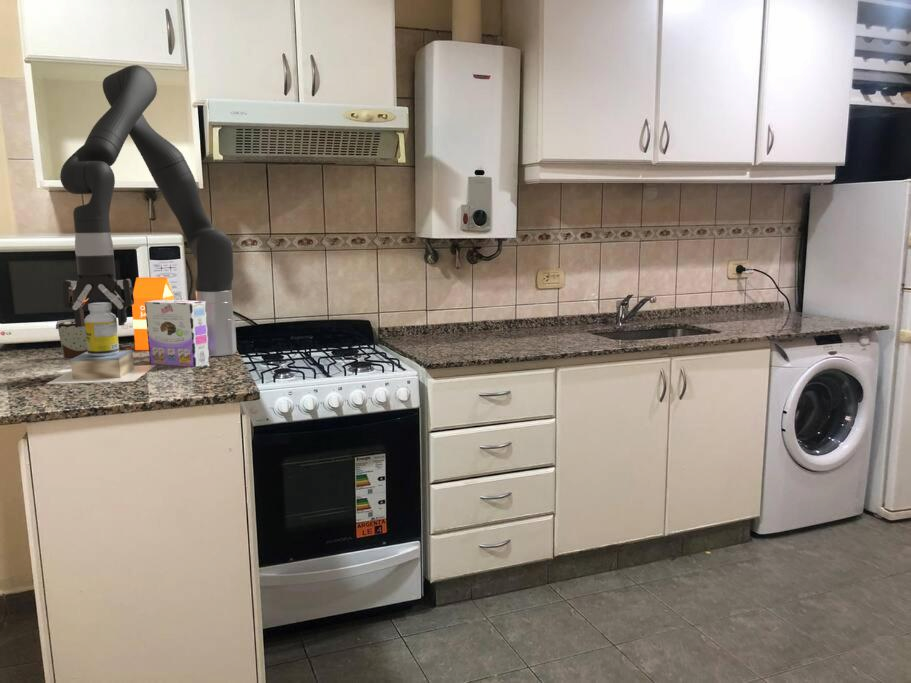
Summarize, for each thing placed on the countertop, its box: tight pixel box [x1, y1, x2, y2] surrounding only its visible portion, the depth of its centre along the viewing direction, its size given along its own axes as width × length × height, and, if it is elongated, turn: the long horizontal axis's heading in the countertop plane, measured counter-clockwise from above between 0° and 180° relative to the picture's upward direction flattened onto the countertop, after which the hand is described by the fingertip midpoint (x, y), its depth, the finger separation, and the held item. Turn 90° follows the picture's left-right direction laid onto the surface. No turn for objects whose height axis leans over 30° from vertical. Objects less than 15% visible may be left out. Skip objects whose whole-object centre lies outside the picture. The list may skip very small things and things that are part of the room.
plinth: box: [70, 349, 135, 379], centre depth 162 cm, size 10×10×4 cm
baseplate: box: [45, 364, 157, 385], centre depth 163 cm, size 18×18×1 cm
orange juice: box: [131, 276, 175, 351], centre depth 201 cm, size 8×9×20 cm
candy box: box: [145, 299, 210, 370], centre depth 174 cm, size 14×6×16 cm, turn 71°
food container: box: [55, 318, 87, 360], centre depth 188 cm, size 12×6×10 cm, turn 84°
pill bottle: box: [84, 302, 120, 356], centre depth 161 cm, size 6×6×12 cm
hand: (101, 325), depth 161 cm, fingers open, 8 cm apart
